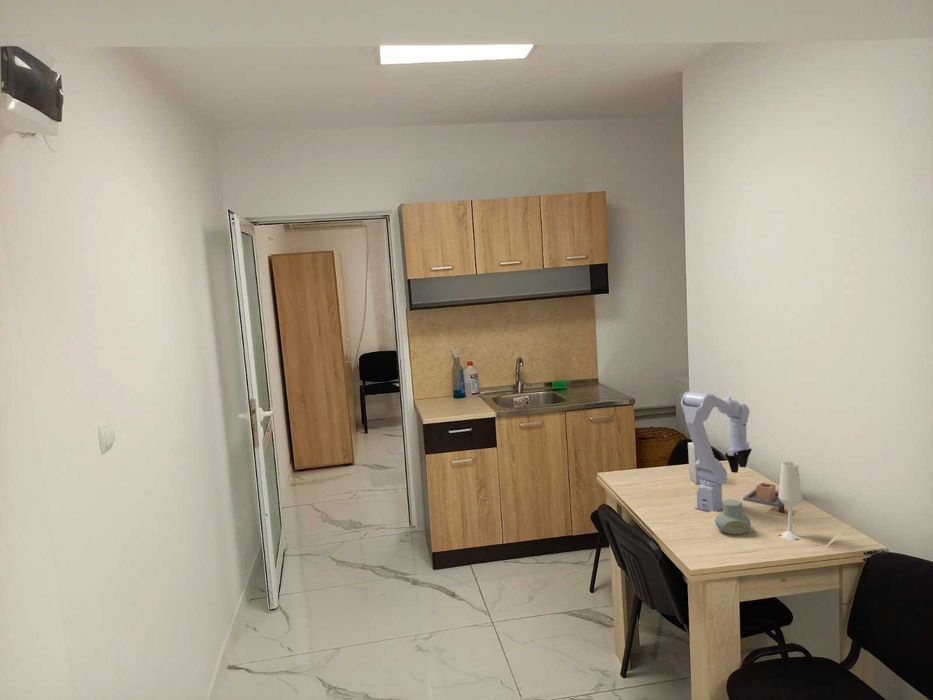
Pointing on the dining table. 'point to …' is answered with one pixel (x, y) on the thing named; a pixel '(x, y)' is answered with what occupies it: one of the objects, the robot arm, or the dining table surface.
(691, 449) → the skincare box
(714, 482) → the robot arm
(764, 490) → the brown cube box
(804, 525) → the dining table surface
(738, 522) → the air freshener
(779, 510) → the stand
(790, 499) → the champagne flute
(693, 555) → the dining table surface
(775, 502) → the tray
